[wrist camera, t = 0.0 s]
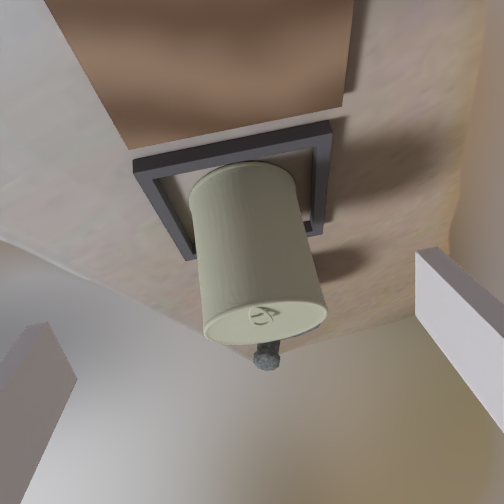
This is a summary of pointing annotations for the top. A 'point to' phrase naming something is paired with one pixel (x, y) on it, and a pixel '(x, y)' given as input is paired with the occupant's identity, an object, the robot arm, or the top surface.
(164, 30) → the walnut board
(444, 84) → the top surface
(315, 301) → the can
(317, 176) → the grey picture frame
